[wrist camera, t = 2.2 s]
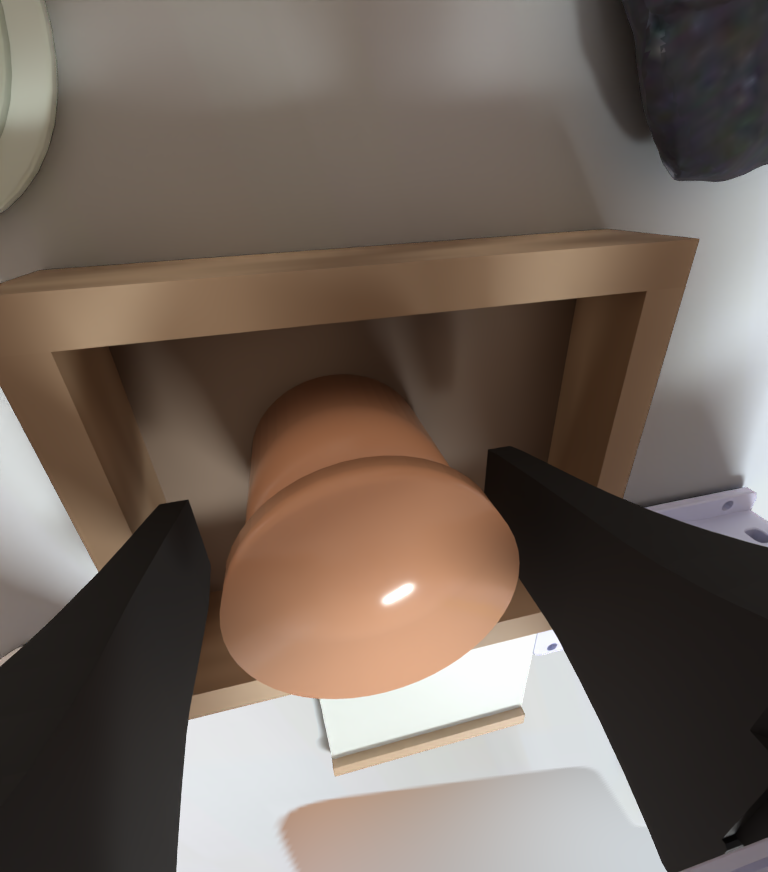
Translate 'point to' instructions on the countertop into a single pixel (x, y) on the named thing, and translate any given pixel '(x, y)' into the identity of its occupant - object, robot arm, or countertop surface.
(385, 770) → the countertop surface
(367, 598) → the tan bell-shaped knob
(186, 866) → the countertop surface
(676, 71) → the dark slate chunk
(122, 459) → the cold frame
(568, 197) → the countertop surface
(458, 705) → the frame lid
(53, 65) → the saucer
